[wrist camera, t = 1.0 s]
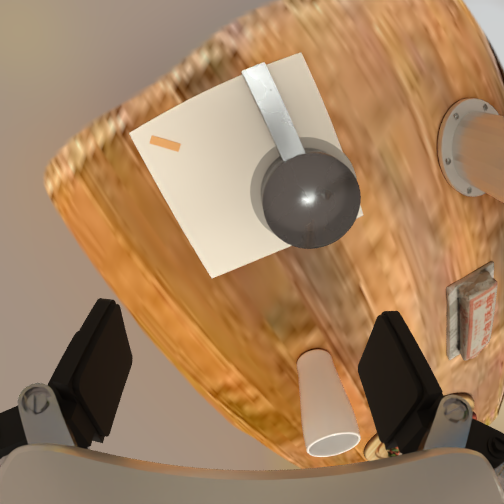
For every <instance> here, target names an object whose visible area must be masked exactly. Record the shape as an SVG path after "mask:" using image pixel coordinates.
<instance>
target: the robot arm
mask: <svg viewBox="0 0 504 504" xmlns="http://www.w3.org/2000/svg"><path fill="white" fill-rule="evenodd" d="M438 157H439V163H440V167H441V170H442V173H443V175H444V177H445V178H446V180H447V182H448V183H449V184H450V185H451V187H453V188H454V189H455V190H456V191H458V192H460V193H461V194H463V195H466V196H471V197H476V196H481V195H483V194H485V193H487V194H488V195H490V196H492V197H494V198H496V199H497V200H499V201H501V202H503V203H504V116H500V115H499V114H498V112H497V111H496V110H495V109H494V107H493V106H491V105H490V104H489V103H487V102H486V101H483V100H481V99H476V98H466V99H462V100H460V101H458V102H457V103H455V104H454V105H453V106H452V107H451V108H450V109H449V110H448V112H447V113H446V115H445V116H444V119H443V121H442V124H441V127H440V131H439V136H438ZM131 365H132V354H131V350H130V346H129V342H128V338H127V334H126V330H125V326H124V322H123V318H122V313H121V309H120V306H119V305H118V304H116V303H115V301H114V300H110V299H102V298H100V299H98V300H97V302H96V303H95V305H94V307H93V308H92V310H91V312H90V313H89V315H88V317H87V318H86V320H85V322H84V323H83V325H82V327H81V328H80V331H78V332H76V334H75V335H74V337H73V338H72V340H71V342H70V344H69V345H68V347H67V349H66V351H65V353H64V355H63V356H62V358H61V360H60V362H59V364H58V366H57V368H56V369H55V372H54V373H53V375H52V377H51V379H50V381H49V383H48V385H45V384H43V383H35V384H31V385H29V386H27V387H26V388H25V389H24V390H23V391H22V392H21V394H20V395H19V398H18V406H16V407H14V408H11V409H9V410H6V411H4V412H2V413H0V504H504V434H503V433H501V432H500V431H498V430H495V429H493V428H492V427H489V426H487V425H485V424H483V423H481V422H479V421H477V420H475V419H473V418H472V414H473V412H472V408H471V406H470V404H469V403H468V402H467V401H466V400H465V399H464V398H462V397H461V396H458V395H448V396H445V397H444V396H443V394H442V390H441V388H440V386H439V384H438V382H437V380H436V378H435V376H434V374H433V372H432V370H431V368H430V366H429V364H428V363H427V361H426V359H425V357H424V355H423V353H422V351H421V350H420V348H419V346H418V344H417V342H416V341H415V339H414V337H413V335H412V333H411V332H410V330H409V328H408V326H407V325H406V323H405V321H404V320H403V318H402V316H401V314H400V313H399V312H398V311H384V312H382V314H381V315H379V316H378V317H377V319H376V322H375V324H374V327H373V330H372V332H371V335H370V337H369V340H368V342H367V345H366V347H365V350H364V352H363V355H362V357H361V360H360V362H359V365H358V373H359V376H360V379H361V382H362V385H363V388H364V391H365V394H366V398H367V401H368V404H369V407H370V410H371V413H372V417H373V420H374V423H375V427H376V430H377V433H378V437H379V440H380V442H382V443H384V445H385V448H386V449H390V448H395V447H398V449H399V452H400V453H399V455H398V456H394V457H389V458H383V459H378V460H372V461H366V462H360V463H354V464H347V465H339V466H330V467H321V468H309V469H296V470H295V469H294V470H271V471H270V470H268V471H266V470H265V471H249V470H219V469H205V468H193V467H183V466H175V465H167V464H161V463H154V462H148V461H142V460H137V459H131V458H126V457H121V456H116V455H110V454H107V453H102V452H98V451H93V450H90V447H89V446H91V443H92V441H96V442H100V443H103V440H104V437H105V436H109V434H110V431H111V427H112V424H113V421H114V418H115V414H116V411H117V408H118V405H119V402H120V398H121V395H122V392H123V389H124V386H125V383H126V380H127V377H128V374H129V371H130V368H131Z"/></svg>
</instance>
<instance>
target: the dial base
mask: <svg viewBox="0 0 504 504" xmlns="http://www.w3.org/2000/svg"><path fill="white" fill-rule="evenodd" d="M266 66H267V68H268V70H269V73H270V75H271V77H272V79H273V81H274V83H275V85H276V87H277V89H278V92H279V94H280V96H281V98H282V100H283V102H284V105H285V107H286V109H287V111H288V114H289V116H290V118H291V120H292V123H293V125H294V127H295V130H296V132H297V134H298V137H299V139H300V141H301V144H302V146H303V148H315V149H319V150H322V151H325V152H326V153H328V154H330V155H332V156H333V157H335V158H336V159H338V160H340V161H341V162H342V163H344V164H345V165H346V166H347V167H348V168H349V169H350V170H351V172H352V173H353V174H354V176H355V178H356V174H355V171H354V168H353V166H352V164H351V162H350V161H349V159H348V158H347V157H346V155H345V154H344V153H343V151H342V149H341V146H340V143H339V140H338V138H337V135H336V132H335V130H334V127H333V125H332V122H331V120H330V117H329V115H328V112H327V110H326V107H325V105H324V102H323V100H322V98H321V95H320V93H319V91H318V88H317V86H316V84H315V81H314V79H313V77H312V75H311V72H310V70H309V68H308V66H307V64H306V62H305V60H304V57H303V55H302V53H298V54H295V55H292V56H289V57H286V58H283V59H281V60H278V61H275V62H273V63H270V64H267V65H266ZM129 134H130V136H131V138H132V140H133V142H134V143H135V145H136V147H137V149H138V151H139V153H140V155H141V156H142V158H143V160H144V162H145V164H146V166H147V168H148V169H149V171H150V173H151V175H152V177H153V178H154V180H155V182H156V184H157V186H158V187H159V189H160V191H161V193H162V195H163V196H164V198H165V200H166V202H167V203H168V205H169V207H170V209H171V210H172V212H173V214H174V216H175V217H176V219H177V221H178V223H179V224H180V226H181V228H182V229H183V231H184V233H185V235H186V236H187V238H188V240H189V241H190V243H191V245H192V246H193V248H194V250H195V251H196V253H197V255H198V256H199V258H200V260H201V261H202V263H203V265H204V266H205V268H206V270H207V271H208V273H209V275H210V276H211V278H214V277H217V276H219V275H221V274H224V273H226V272H229V271H231V270H234V269H236V268H238V267H241V266H243V265H246V264H248V263H251V262H253V261H255V260H258V259H260V258H263V257H265V256H268V255H270V254H272V253H275V252H277V251H280V250H282V249H285V248H287V247H289V246H292V245H289V244H287V243H285V242H284V241H282V240H281V239H280V238H278V237H277V236H276V235H275V234H274V233H273V231H272V230H271V229H270V227H269V225H268V224H267V221H266V219H265V216H264V211H263V207H262V202H261V194H260V193H261V183H262V180H263V177H264V175H265V172H266V171H267V169H268V168H269V166H270V165H271V164H272V163H273V161H275V160H276V159H277V158H278V157H279V156H280V155H279V153H278V151H277V148H276V146H275V144H274V142H273V140H272V137H271V135H270V133H269V131H268V129H267V126H266V124H265V122H264V120H263V118H262V116H261V113H260V111H259V109H258V107H257V105H256V103H255V101H254V99H253V97H252V95H251V92H250V90H249V88H248V86H247V84H246V82H245V80H244V78H243V76H242V75H240V76H238V77H235V78H233V79H231V80H229V81H226V82H224V83H222V84H220V85H218V86H215V87H213V88H211V89H209V90H207V91H205V92H203V93H201V94H199V95H197V96H195V97H193V98H191V99H189V100H187V101H185V102H183V103H181V104H179V105H177V106H175V107H174V108H172V109H170V110H168V111H166V112H164V113H163V114H161V115H159V116H157V117H155V118H154V119H152V120H150V121H149V122H147V123H145V124H143V125H142V126H140V127H138V128H137V129H135V130H133V131H132V132H130V133H129ZM356 180H357V178H356ZM361 216H363V212H362V209H361V206H360V208H359V212H358V215H357V218H359V217H361Z"/></svg>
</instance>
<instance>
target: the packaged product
mask: <svg viewBox="0 0 504 504" xmlns="http://www.w3.org/2000/svg"><path fill="white" fill-rule="evenodd" d="M493 276H494V262H492V261H491V262H489V263H487V264H486V265H484V266H482V267H481V268H479V269H477V270H475V271H474V272H472V273H470V274H469V275H467V276H466V277H464V278H462V279H460V280H458V281H457V282H455V283H453V284H451V285H450V286H448V287H447V288H446V293H447V356H448V359H449V360H451V359H453V358H454V357H456V356H457V355H459V354H461V356H462V358H463V360H468V359H472V358H474V357H476V356H477V355H478V353H480V352H481V350H482V349H483V348H484V347H486V345H487V344H488V343H489V341H490V337H491V332H492V325H493V318H494V310H495V303H496V293H497V281H496V280H495V279H494V278H493Z"/></svg>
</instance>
